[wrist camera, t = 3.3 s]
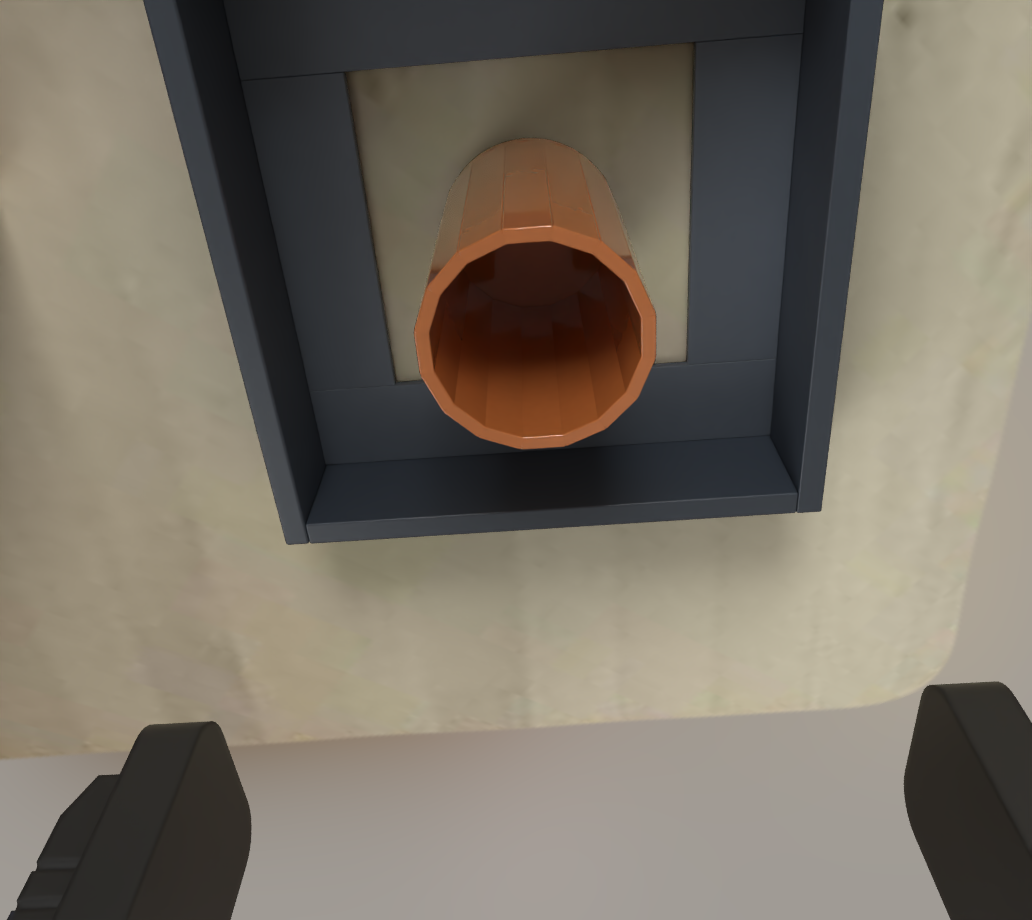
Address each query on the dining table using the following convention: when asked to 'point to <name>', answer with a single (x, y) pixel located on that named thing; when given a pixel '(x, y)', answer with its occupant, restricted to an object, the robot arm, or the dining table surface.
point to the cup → (534, 300)
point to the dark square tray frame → (356, 287)
